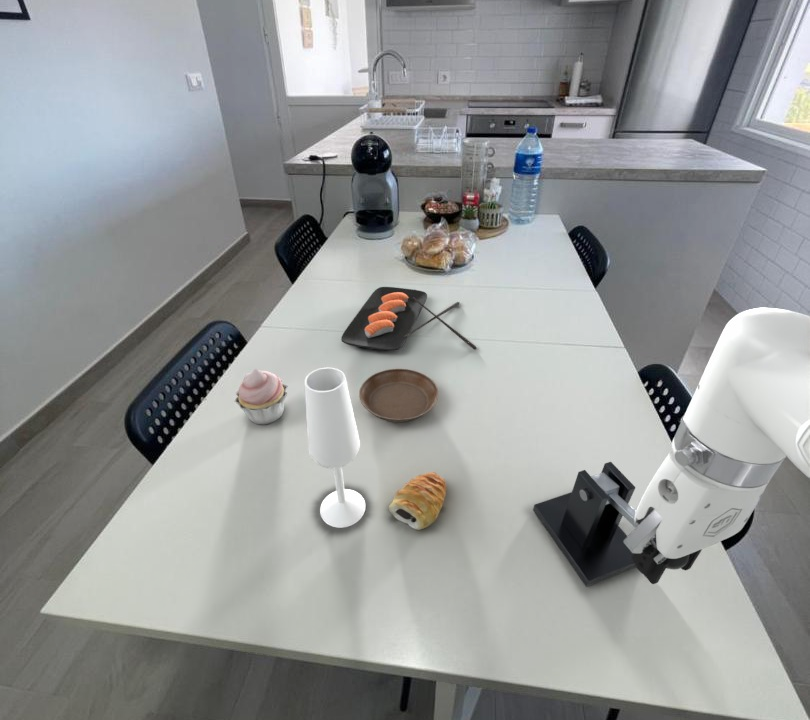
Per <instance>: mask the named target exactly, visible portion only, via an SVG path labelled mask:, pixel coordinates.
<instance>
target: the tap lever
mask: <svg viewBox="0 0 810 720" xmlns="http://www.w3.org/2000/svg"><path fill="white" fill-rule="evenodd" d="M590 476H591V477H592V478H593V480H594V481H595V482H596V483H597V484H598V485H599V486H600V487H601V489H602V490H603V491H604V492H605V493H606V494H607V495H608V500H607V502H606V504H609V503H610V504H611V505H612V506H613V507H614V508H615V509H616V510H618V511H619V512H620V513H621V514H622V515H623V516H622V517H624V518H625V519H626V520H627V521H628V522H629V523H630V524H631V525H632V526H633V527H634V529H635V528H636V527H637V526H638V525H636V524H635V522H634V518H635V513H636V510H635V509H634V508H633V507H632V506H631V505H630V503H628V504H627V503H626V502H625V501H624V500H623V499H622V498H621V497H620V496H619V495H618V492H619V487H620V486H618V485H617V484H616V483H615V482H614V481H613V480H612V479H611V478H609V477H608V476H607V475H606V474H605V473H604V472H603V473H597V474H594V475H590ZM652 540H653V541H654V542H655V543H656V537H655V536H654V537H653V538H652ZM667 560H668V562H669V564H668V566H667V567H666V570H679V569H681V568H682V567H684V566H685V565H686V564H687V562H688V560H689V555H686V556H683V557H681V558H676V559H670V558H667Z"/></svg>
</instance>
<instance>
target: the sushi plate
mask: <svg viewBox="0 0 810 720" xmlns="http://www.w3.org/2000/svg"><path fill="white" fill-rule="evenodd" d="M427 299H428V294H427V292H425V291H422V290H418V289H412V288H405V287H394V286H379V287H378V288H376V289H374V291H373V292H372V293H371V295H370V296H369V297H368V299H367V300H366V301H365V303H364V304H363V305H362V307H361V308H360V309H359V311H358V312H357V314H356V315H355V317H354V318H352V321H351V322H349V325H348V326H347V327H346V328H345V330H344V332H342V335H341V337H340V338H341V339H340V340H341V343H343V344H345V345H349V346H353V347H357V348H364V349H371V350H378V351H386V352H387V351H388V352H393V351H397V350H399V349H401V348H402V347H403V345H404V344H405V343H406V341H407V339H408V337H409V336H410V335H412V334H414V333H415V332H416V331H418V330H419V329H421V328H422V327H424V326H426V325H427V324H429V323H430V322H432V321H434V320H435V319H437V320H438V321H439V322H441V323H442V324H443V325H444V326H445V327H447V329H449V330H450V331H451V332H452V333H454V334H455V335H456V336H457V337H458V338H460V339H461V340H462V341H463V342H464V343H465V344H467V345H468V346H469V347H470V348H471V349H473V350H477V346H476V345H475V344H474V343H473V342H471V341H470V340H468V339H467V338H466V337H465V336H463V335H462V334H461V333H460V332H458V330H456V329H455V328H453V327H452V326H450V325H449V324H448V323H446V322H445V321H444V320H443V319H441V318H440V317H441V316H442V315H444V314H446V313H447V312H449V311H451V310H453V309H454V308H456V307H457V306H459V305H460V301H457V302H455V303H453V304H452V305H450V306H448V307H447V308H445V309H443V310H442V311H441V312H439V313H437V315H436V313H434V312H433V311H432V310H431V309H429V308H428V307H426V306H425V303H426V302H427ZM423 309H425V310H426V311H427V312H428V313H430V314H431V315H432V316H433V317H431V318H430V319H428V320H427V321H426V322H424V323H422V324H420V326H418V327H416V328H414V325H415V323H416V321H417V319H418V318H419V315H420V313H421V311H422V310H423ZM413 328H414V329H413ZM412 329H413V330H412Z"/></svg>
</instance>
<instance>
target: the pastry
mask: <svg viewBox="0 0 810 720" xmlns="http://www.w3.org/2000/svg"><path fill="white" fill-rule="evenodd" d="M447 487H448V486H447V483H446V481H445V480H444V478H443V477H442V476H440V475H438V474H437V473H436V472H426V473H424V474H418V475H417V476H416V477H415V478H411V479H410V480H409V482H407V483H405V484H404V485H403V486H402V489H400V490H397V491H396V492H395V494H394V496H393V500H392V502H391V503H390V504H389V506H388V510H389V513H391V514H392V516H393V517H394V518H395V519H396V520H398V521H399V522H402V523H404V524H407V525H408V526H409V527H410V528H412V529H413V530H417V531H418V530H423V529H426V528H428V527H429V526H431V525H432V524H434V522H436V520H437V519H438V517H439V514H440V512H441V510H442V508H443V506H444V501H445V498H446V495H447V489H448V488H447Z"/></svg>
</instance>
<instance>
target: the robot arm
mask: <svg viewBox="0 0 810 720" xmlns="http://www.w3.org/2000/svg"><path fill="white" fill-rule="evenodd" d="M671 449H672V450H670V452H669V453H668V455H667V456H666V457H665V459H664V460H663V462H662V463H661V464H660V466H659V467H658V469H657V471H656V472H655V473H654V475H653V477H652V478H651V480H650V481H649V484H647V487H646V488H645V491H644V492H643V495H642V497H641V499H640V501H639V503H638V505H637V508H636V510H635V511H636V513H635V518H634V522H635V524H636V525H638V526H637V527H636V528H635V527H634V529H633V530H632V531H631V532H630V533H629V534H628V535H627V537H626V538H625V540H624V541H623V543H624V544H625V545H626V546H627V547H628V549H629V550H630V551H631V552H632V553H634V554H633V556H632V560H633V562H634V563H635V565H636V566H635V568H636V569H637V570H638V571H639V572H640V573H641V574H642V575H643V576H644V577H645V578H646V579H647V580H648V582H649V583H650V584H652V585H655V584H657V583H659V581H660V580H661V578H662V576H663V574H664V573H665V571H666V570H667V568H666V567H667V566H668V564H669V562H668V560H667V558H670V559H676V558H681V557H683V556H686V555H689V560H688V562H687V564H686V565H685V566H684V567H682V568H680V569H681V570H682V571H688V570H690V569H691V568H692V567H693V565H694V564H695V561H696V560H697V558H698V557H699V556H700V554H701V552H702V550H703V549H705V548H708V547H711V546H713V545H715V544H718V543H720V542H722V541H724V540H727V539H729V538H731V537H733V536H735V535H736V534H738V533H740V532H741V531H742V530H743V528H744V527H745V525H746V524H747V523H748V521H749V519H750V518H751V515H752V513H753V512H754V510H755V509H756V507H757V505H758V503H759V502H760V500H761V498H762V496H763V494H764V492H765V490H766V488H767V486H768V484H769V483H770V482H771V480H772V478H773V477H774V475H775V474H776V472H777V471H778V469H779V468H780V466H781V465H782V463H783V462H784V460H785V459H786V458H787V459H789V461H790V462H791V463H792V464H793V465H794V466H795V467H796V468H797V469H798V470H800V472H801V473H803V474H804V476H806V477H807V478H808V479H810V315H807V314H804V313H801V312H797V311H793V310H788V309H783V308H773V307H757V308H752V309H751V308H750V309H747V310H743V311H741V312H739V313H737V314H735V315H734V316H733V317H732V318H731V319H730V320H728V322H727V323H726V324H725V326H724V328H723V330H722V332H721V333H720V335H719V338H718V340H717V342H716V345H715V346H714V349H713V351H712V353H711V356H710V357H709V360H708V362H707V364H706V366H705V368H704V371H703V372H702V375H701V377H700V380H699V382H698V383H697V386H696V389H695V391H694V392H693V395H692V397H691V399H690V401H689V404H688V405H687V408H686V411H685V412H684V414H683V417H682V419H681V421H680V423H679V425H678V428H677V430H676V432H675V434H674V437H673V438H672V442H671ZM654 536H655V537H656V543H655V542H654V541H653V540H652V538H653V537H654Z"/></svg>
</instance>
